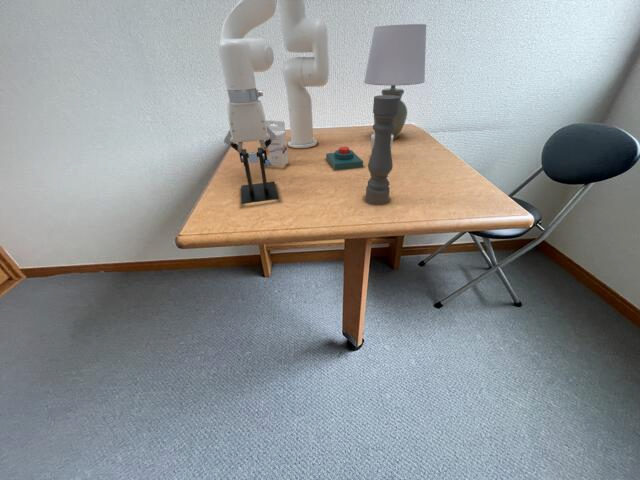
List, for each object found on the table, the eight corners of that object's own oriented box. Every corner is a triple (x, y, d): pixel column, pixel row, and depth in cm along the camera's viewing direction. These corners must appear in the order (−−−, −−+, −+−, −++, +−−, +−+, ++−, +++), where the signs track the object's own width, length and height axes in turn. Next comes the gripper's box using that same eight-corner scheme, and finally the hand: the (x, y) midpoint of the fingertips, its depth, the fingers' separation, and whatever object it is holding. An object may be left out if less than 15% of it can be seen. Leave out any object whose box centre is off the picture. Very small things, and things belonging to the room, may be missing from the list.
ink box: (261, 167, 98) (255, 123, 90) (268, 162, 102) (262, 120, 93) (283, 169, 96) (278, 124, 87) (289, 164, 100) (285, 120, 91)
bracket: (241, 189, 83) (232, 146, 76) (274, 185, 85) (269, 142, 78) (242, 207, 74) (231, 160, 66) (279, 202, 75) (273, 155, 68)
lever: (245, 159, 83) (244, 151, 82) (262, 158, 84) (261, 149, 83) (244, 163, 72) (242, 154, 71) (263, 161, 73) (262, 152, 72)
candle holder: (363, 195, 77) (369, 95, 63) (384, 193, 78) (396, 94, 63) (368, 205, 72) (376, 99, 58) (391, 203, 73) (405, 98, 58)
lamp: (375, 128, 139) (383, 28, 116) (422, 134, 127) (442, 24, 104) (351, 140, 123) (355, 27, 100) (402, 148, 111) (420, 22, 88)
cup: (391, 164, 96) (394, 141, 92) (368, 163, 98) (369, 140, 93) (391, 154, 105) (393, 132, 100) (369, 153, 106) (371, 132, 102)
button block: (326, 159, 103) (326, 148, 101) (351, 156, 105) (352, 145, 102) (335, 170, 93) (335, 158, 91) (362, 167, 95) (363, 155, 93)
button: (337, 152, 98) (337, 147, 97) (347, 151, 99) (347, 146, 98) (340, 155, 95) (340, 150, 94) (350, 154, 96) (350, 149, 95)
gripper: (273, 92, 78) (281, 156, 88) (211, 97, 75) (226, 162, 85) (276, 96, 72) (284, 164, 82) (208, 101, 69) (225, 171, 79)
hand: (254, 162), depth 84 cm, fingers closed on lever, 5 cm apart
